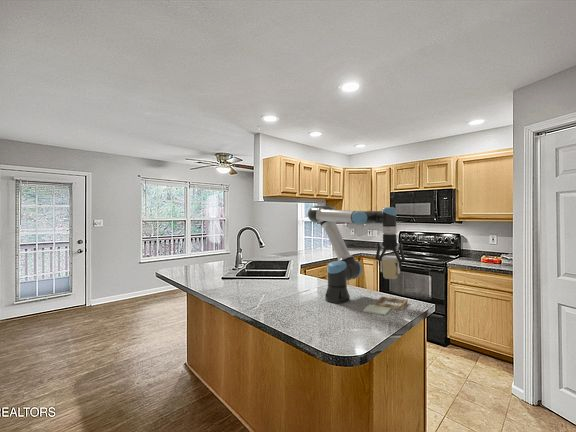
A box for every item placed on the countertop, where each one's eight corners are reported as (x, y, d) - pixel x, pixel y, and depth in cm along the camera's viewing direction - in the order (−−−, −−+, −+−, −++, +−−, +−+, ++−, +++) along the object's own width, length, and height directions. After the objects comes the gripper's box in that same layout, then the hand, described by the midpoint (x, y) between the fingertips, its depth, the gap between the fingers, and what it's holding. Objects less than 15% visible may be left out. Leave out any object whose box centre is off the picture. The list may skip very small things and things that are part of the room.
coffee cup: (400, 279, 163) (399, 258, 163) (382, 279, 165) (382, 258, 165) (397, 276, 172) (397, 256, 172) (380, 275, 174) (380, 255, 174)
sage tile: (362, 311, 157) (362, 310, 157) (369, 305, 167) (369, 304, 167) (385, 315, 150) (385, 313, 150) (391, 309, 160) (391, 307, 160)
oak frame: (374, 306, 166) (374, 302, 166) (381, 299, 178) (381, 296, 178) (401, 310, 158) (401, 306, 158) (407, 303, 170) (407, 299, 170)
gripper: (369, 233, 171) (369, 271, 171) (408, 234, 159) (408, 275, 159) (373, 233, 177) (373, 269, 177) (410, 233, 165) (411, 273, 165)
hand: (390, 272), depth 168 cm, fingers closed on coffee cup, 9 cm apart
